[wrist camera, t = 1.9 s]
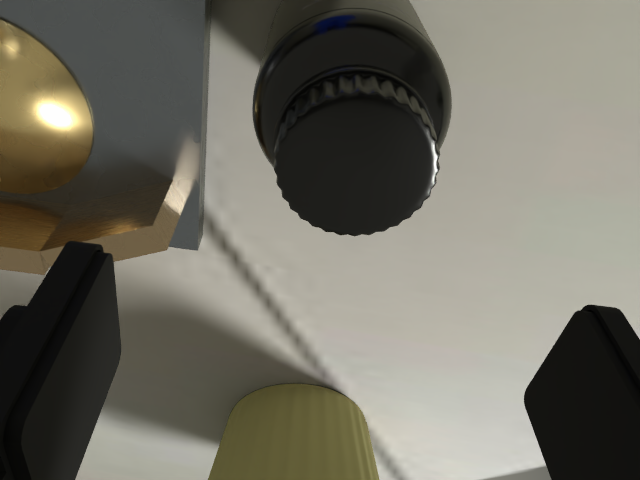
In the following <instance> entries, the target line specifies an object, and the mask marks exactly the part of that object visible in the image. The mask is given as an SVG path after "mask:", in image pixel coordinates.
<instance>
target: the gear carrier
mask: <svg viewBox="0 0 640 480" xmlns="http://www.w3.org/2000/svg"><path fill="white" fill-rule="evenodd" d="M210 23H211V0H0V269H2V270H10V271H18V272H26V273H34V274H41V275H44V274H45V273H46V271H47V270H48V268H49V267H50V266H51V267H52V265H53V264H54V262H55V260H56V259H57V257H58V256H59V254H60V252H61V251H62V249H63V247H64V246H65V244H66V243H67V242H68V241H77V242H85V243H94V244H100V245H102V247H103V250H104V253H111V254H112V256H113V262H115V261H120V260H124V259H129V258H133V257H138V256H142V255H147V254H152V253H156V252H161V251H165V250H167V249H168V247H175V248H182V249H189V250H197V251H198V248H199V245H200V242H201V239H202V235H203V213H204V186H205V159H206V132H207V105H208V78H209V50H210Z"/></svg>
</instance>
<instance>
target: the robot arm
mask: <svg viewBox="0 0 640 480" xmlns="http://www.w3.org/2000/svg"><path fill="white" fill-rule="evenodd" d="M120 355H121V340H120V329H119V318H118V307H117V296H116V285H115V274H114V262H113V256H112V254H111V253H104V250H103V247H102V245H100V244H94V243H85V242H77V241H68V242H67V243H66V244H65V246H64V247H63V249H62V251H61V252H60V254H59V256H58V257H57V259H56V260H55V262H54V264H53V265H52V267H51V269H50V270H49V272H48V273H47V275H46V277H45V278H44V280H43V281H42V283H41V285H40V286H39V288H38V290H37V291H36V293H35V294H34V296H33V298H32V299H31V301H30V303H29V304H28V306H20V305H14V306H13V307H11V308H9V309H8V311H7V312H6V313H5V314H4V315H3V317H2V319H1V320H0V480H75V478H76V476H77V473H78V470H79V468H80V465H81V462H82V460H83V457H84V454H85V452H86V449H87V446H88V444H89V441H90V438H91V436H92V433H93V430H94V428H95V425H96V423H97V420H98V417H99V415H100V412H101V409H102V407H103V404H104V401H105V399H106V396H107V393H108V391H109V388H110V385H111V383H112V380H113V377H114V375H115V372H116V369H117V367H118V364H119V360H120ZM524 404H525V408H526V410H527V413H528V416H529V419H530V421H531V424H532V427H533V430H534V433H535V435H536V438H537V441H538V444H539V446H540V449H541V452H542V455H543V457H544V460H545V463H546V466H547V468H548V471H549V474H550V477H551V479H552V480H640V339H639V338H638V336H637V335H636V333H635V332H634V330H633V328H632V327H631V325H630V324H629V322H628V321H627V319H626V317H625V316H624V314H623V313H622V312H621V311H620V310H619V309H617V308H613V307H605V306H597V305H587V306H585V307H583V309H582V310H581V311H577V312H575V313H574V315H573V316H572V318H571V319H570V321H569V322H568V324H567V325H566V327H565V329H564V330H563V332H562V333H561V335H560V337H559V338H558V340H557V341H556V343H555V344H554V346H553V348H552V349H551V351H550V352H549V354H548V355H547V357H546V359H545V360H544V362H543V363H542V365H541V367H540V368H539V370H538V371H537V373H536V374H535V376H534V378H533V379H532V381H531V382H530V384H529V385H528V387H527V389H526V391H525V395H524Z"/></svg>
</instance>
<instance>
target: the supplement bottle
mask: <svg viewBox="0 0 640 480" xmlns="http://www.w3.org/2000/svg"><path fill="white" fill-rule="evenodd" d="M451 108H452V98H451V89H450V85H449V80H448V77H447V74H446V71H445V68H444V65H443V63H442V61H441V59H440V57H439V55H438V53H437V51H436V49H435V47H434V45H433V43H432V42H431V40H430V38H429V36H428V34H427V32H426V30H425V28H424V26H423V25H422V23H421V21H420V19H419V17H418V15H417V13H416V11H415V10H414V8H413V6H412V4H411V3H410V1H409V0H283V1H282V3H281V5H280V6H279V8H278V10H277V13H276V15H275V18H274V21H273V23H272V27H271V30H270V34H269V37H268V41H267V44H266V48H265V52H264V55H263V59H262V62H261V66H260V69H259V73H258V77H257V80H256V84H255V89H254V95H253V122H254V128H255V132H256V136H257V139H258V142H259V144H260V147H261V149H262V151H263V153H264V154H265V156H266V158H267V159H268V161H269V162H270V164H271V165H272V166H273V167H274V171H275V173H276V175H277V185H278V186H279V188H280V189H281V190H282V197H283V198H284V199H285V200H286V201H287V202H289V206H290V209H292V210H293V211H295V212H297V213H298V215H299V217H300V218H301V219H303V220H306V221H308V222H309V223H310V224H311V225H312V226H314V227H319V228H321V229H323V230H324V231H325V232H335V233H336V234H338V235H346V234H349V235H352V236H358V235H361V234H365V235H371V234H373V233H375V232H382V231H385V230H387V229H388V228H389V227H393V226H398V225H399V224H400V223H401V222H402V220H405V219H408V218H410V217H411V215H412V214H413V212H414V211H416V210H418V209H420V208H421V206H422V204H423V201H424V200H426V199H427V198H428V197H429V196H430V193H431V189H432V188H433V187H434V185H435V184H436V175H437V173H438V171H439V168H440V166H439V163H438V159H439V155H440V151H439V150H440V148H441V146H442V144H443V142H444V139H445V137H446V134H447V131H448V128H449V123H450V118H451Z"/></svg>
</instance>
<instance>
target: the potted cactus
mask: <svg viewBox="0 0 640 480" xmlns="http://www.w3.org/2000/svg"><path fill="white" fill-rule="evenodd" d="M208 480H379V476H378V472H377V467H376V462H375V458H374V453H373V449H372V444H371V440H370V435H369V431H368V426H367V422H366V421H365V417H364V415H363V413H362V411H361V410H360V408H359V407H358V406H357V405H356V404H355V403H354V402H353V401H351V400H350V399H349V398H347V397H346V396H344V395H342V394H340V393H338V392H336V391H333V390H331V389H328V388H324V387H320V386H315V385H309V384H280V385H274V386H269V387H265V388H262V389H259V390H256V391H254V392H252V393H250V394H248V395H247V396H245V397H244V398H243V399H241V400H240V401H239V402H238V403H237V404H236V405H235V407H234V408H233V410H232V412H231V413H230V416H229V419H228V422H227V425H226V428H225V431H224V434H223V437H222V440H221V443H220V446H219V448H218V451H217V454H216V457H215V460H214V463H213V466H212V469H211V472H210V475H209V478H208Z"/></svg>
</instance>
